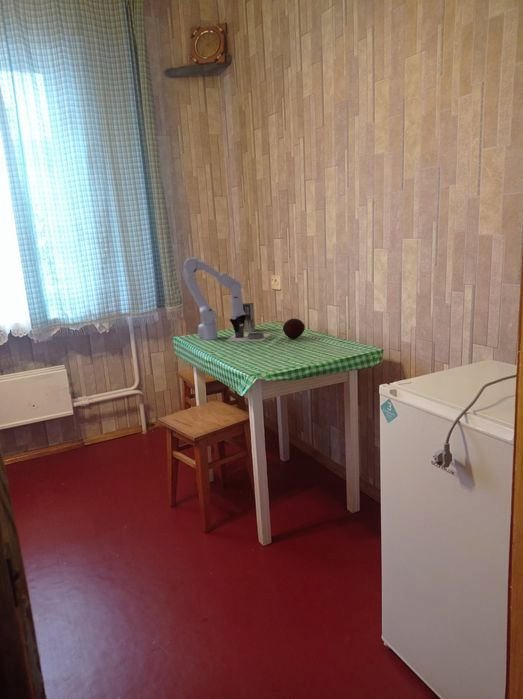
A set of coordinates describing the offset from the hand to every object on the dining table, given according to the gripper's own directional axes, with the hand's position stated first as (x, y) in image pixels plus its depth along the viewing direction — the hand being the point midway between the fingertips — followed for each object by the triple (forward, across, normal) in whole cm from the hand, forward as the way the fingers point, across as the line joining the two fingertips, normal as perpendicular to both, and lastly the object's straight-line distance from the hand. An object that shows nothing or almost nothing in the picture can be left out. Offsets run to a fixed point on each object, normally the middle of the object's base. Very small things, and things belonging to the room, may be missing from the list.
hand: (239, 330), depth 269 cm
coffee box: (+5, +17, +2) cm, 18 cm away
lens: (+3, 0, 0) cm, 3 cm away
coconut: (+5, +1, -29) cm, 29 cm away
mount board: (+4, -1, -5) cm, 7 cm away
